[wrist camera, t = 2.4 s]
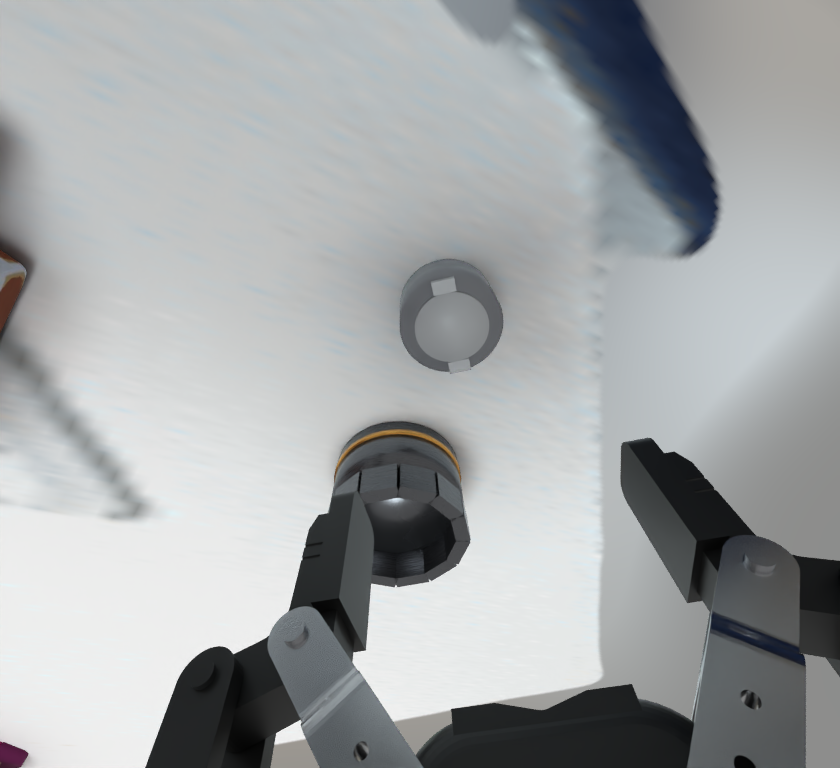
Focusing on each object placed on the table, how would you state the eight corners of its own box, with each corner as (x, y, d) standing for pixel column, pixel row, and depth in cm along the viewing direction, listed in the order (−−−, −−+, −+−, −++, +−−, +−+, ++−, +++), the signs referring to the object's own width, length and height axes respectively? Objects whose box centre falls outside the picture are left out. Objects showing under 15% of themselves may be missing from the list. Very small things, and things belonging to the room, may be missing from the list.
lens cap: (390, 270, 25) (388, 290, 22) (485, 248, 25) (497, 266, 22) (411, 354, 28) (413, 383, 25) (497, 336, 28) (509, 362, 24)
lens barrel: (319, 434, 31) (301, 503, 25) (446, 409, 30) (456, 473, 24) (357, 522, 35) (348, 596, 30) (467, 502, 35) (480, 573, 29)
